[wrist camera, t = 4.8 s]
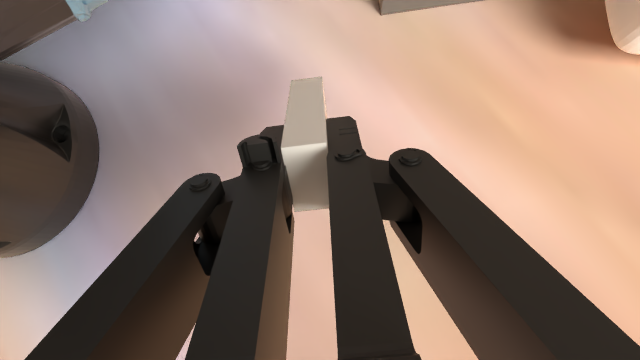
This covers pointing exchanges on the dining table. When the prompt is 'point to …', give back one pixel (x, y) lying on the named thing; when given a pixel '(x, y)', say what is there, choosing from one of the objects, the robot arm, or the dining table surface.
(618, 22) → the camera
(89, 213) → the dining table surface
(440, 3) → the box
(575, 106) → the dining table surface
